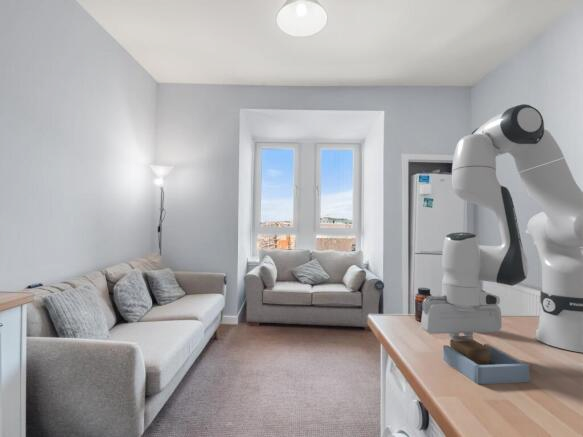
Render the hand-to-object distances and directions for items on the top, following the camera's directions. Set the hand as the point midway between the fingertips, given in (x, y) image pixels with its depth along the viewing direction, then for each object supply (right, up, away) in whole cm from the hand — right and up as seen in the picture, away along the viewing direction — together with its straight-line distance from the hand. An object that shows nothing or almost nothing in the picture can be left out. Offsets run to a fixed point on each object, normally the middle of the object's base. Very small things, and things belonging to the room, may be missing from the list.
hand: (460, 349), depth 79 cm
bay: (+1, -2, -8) cm, 8 cm away
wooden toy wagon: (0, -2, -4) cm, 4 cm away
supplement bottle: (+4, -3, +30) cm, 30 cm away
